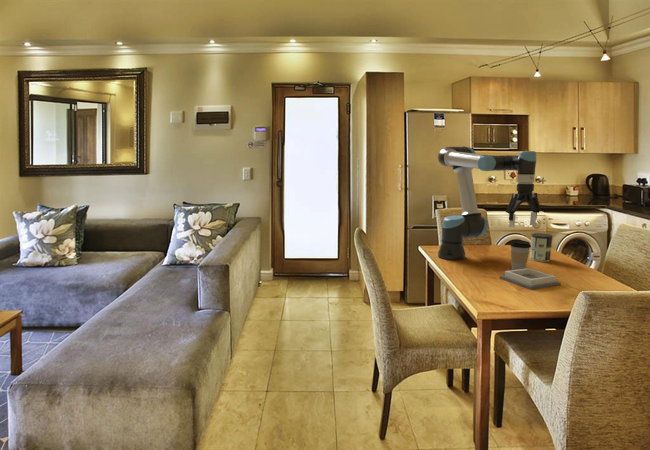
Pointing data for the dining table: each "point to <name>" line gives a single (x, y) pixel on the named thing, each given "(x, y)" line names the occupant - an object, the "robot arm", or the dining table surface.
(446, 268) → the dining table surface
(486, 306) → the dining table surface
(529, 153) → the robot arm
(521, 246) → the coffee cup
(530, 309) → the dining table surface
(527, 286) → the cup dock
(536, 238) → the coffee can
